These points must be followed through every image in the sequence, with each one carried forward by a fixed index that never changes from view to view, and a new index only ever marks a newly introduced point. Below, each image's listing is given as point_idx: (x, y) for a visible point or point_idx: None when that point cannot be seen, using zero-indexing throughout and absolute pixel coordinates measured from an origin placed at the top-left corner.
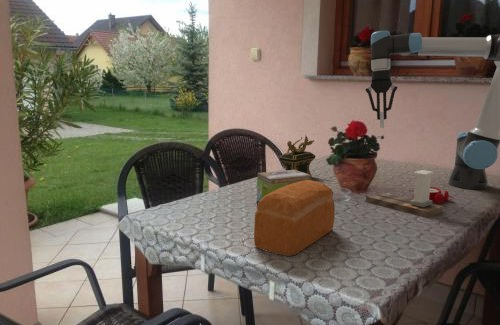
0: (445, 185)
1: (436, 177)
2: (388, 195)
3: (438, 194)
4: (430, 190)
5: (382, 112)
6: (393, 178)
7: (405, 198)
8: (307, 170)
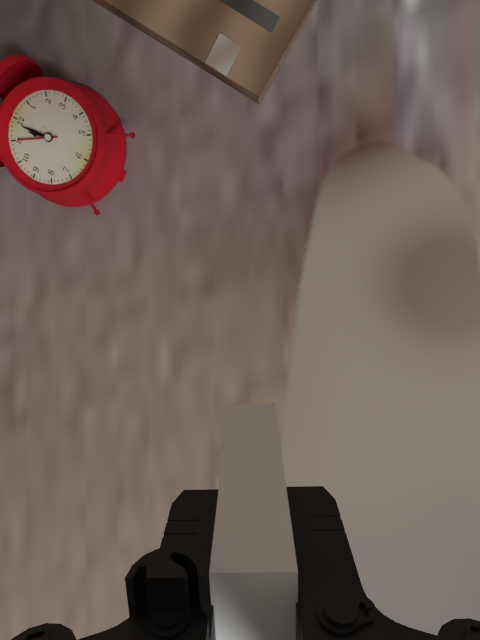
0: (5, 406)
1: (38, 536)
2: (224, 35)
3: (6, 57)
4: (41, 140)
5: (237, 565)
6: (207, 473)
7: (149, 10)
8: None
